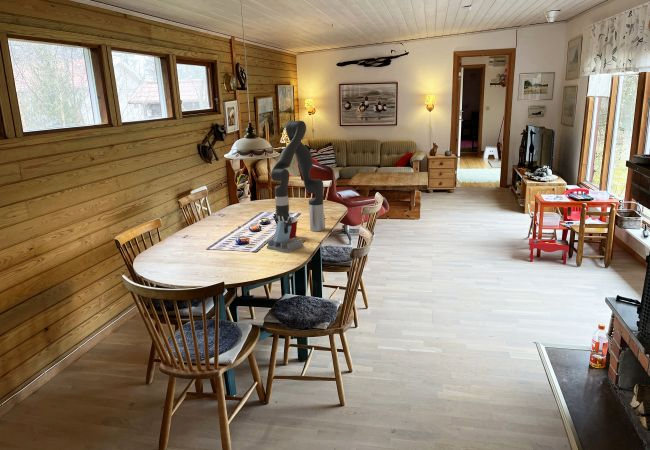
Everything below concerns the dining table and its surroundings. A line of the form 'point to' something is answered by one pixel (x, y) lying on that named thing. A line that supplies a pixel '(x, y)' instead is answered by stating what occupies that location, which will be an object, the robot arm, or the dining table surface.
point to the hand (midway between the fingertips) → (284, 233)
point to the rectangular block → (281, 233)
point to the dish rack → (285, 245)
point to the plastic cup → (293, 228)
